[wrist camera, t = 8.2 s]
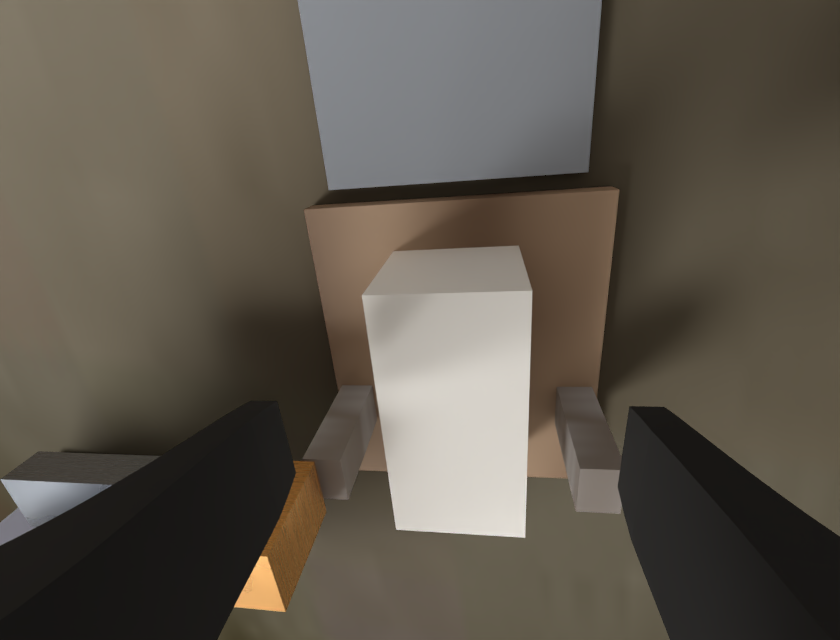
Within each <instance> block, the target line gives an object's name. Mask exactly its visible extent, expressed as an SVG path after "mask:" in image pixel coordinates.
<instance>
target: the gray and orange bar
mask: <svg viewBox="0 0 840 640" xmlns="http://www.w3.org/2000/svg"><path fill="white" fill-rule="evenodd" d="M158 457H160V456H147V455H120V454H92V453H65V452H37V453H36V454H34V455H33V456H32V457H30V458H29V459H27V460H26V461H25V462H23V463H22V464H21V465H19V466H18V467H17V468H15V469H14V470H12V471H11V472H10V473H8V474H7V475H6V476H4V477H3V478H2V479H0V480H1V481H2V483H3V484H4V486H5V487H6V489H7V490H8V492H9V494H10V495H11V497H12V498H13V500H14V501H15V503H16V504H17V506H18V507H19V509H20V511H21V512H22V514H23V515H24V517H25V518H26V520H27V521H28V523H29V525H30V526H31V527H38V526H40V525H41V524H43V523H45V522H47V521H49V520H51V519H53V518H55V517H57V516H59V515H61V514H62V513H64V512H66V511H68V510H70V509H72V508H73V507H75V506H77V505H79V504H81V503H82V502H84V501H86V500H88V499H90V498H91V497H93V496H95V495H96V494H98V493H100V492H101V491H103V490H105V489H106V488H108V487H110V486H112V485H113V484H115V483H117V482H118V481H120V480H122V479H123V478H125V477H127V476H128V475H130V474H132V473H134V472H135V471H137V470H139V469H140V468H142V467H144V466H145V465H147V464H149V463H150V462H152V461H154V460H155V459H157V458H158ZM293 463H294V467H295V470H296V475H295V478H294V480H293V483H292V486H291V489H290V492H289V495H288V498H287V500H286V503H285V505H284V508H283V511H282V513H281V516H280V518H279V520H278V522H277V524H276V526H275V528H274V530H273V532H272V534H271V536H270V538H269V540H268V542H267V544H266V546H265V548H264V550H263V552H262V554H261V556H260V558H259V560H258V562H257V563H256V565H255V567H254V569H253V571H252V573H251V575H250V577H249V579H248V581H247V583H246V585H245V586H244V588H243V590H242V592H241V594H240V596H239V598H238V600H237V602H236V604H235V606H234V607H240V608H250V609H261V610H271V611H282V612H286V610H287V607H288V605H289V602H290V600H291V597H292V595H293V592H294V590H295V588H296V585H297V583H298V580H299V578H300V575H301V573H302V570H303V568H304V565H305V563H306V560H307V558H308V556H309V553H310V551H311V548H312V546H313V543H314V541H315V538H316V536H317V533H318V531H319V528H320V526H321V523H322V521H323V519H324V516H325V514H326V507H325V503H324V499H323V495H322V491H321V486H320V482H319V478H318V474H317V469H316V465H315V462H313V461H293Z"/></svg>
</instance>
